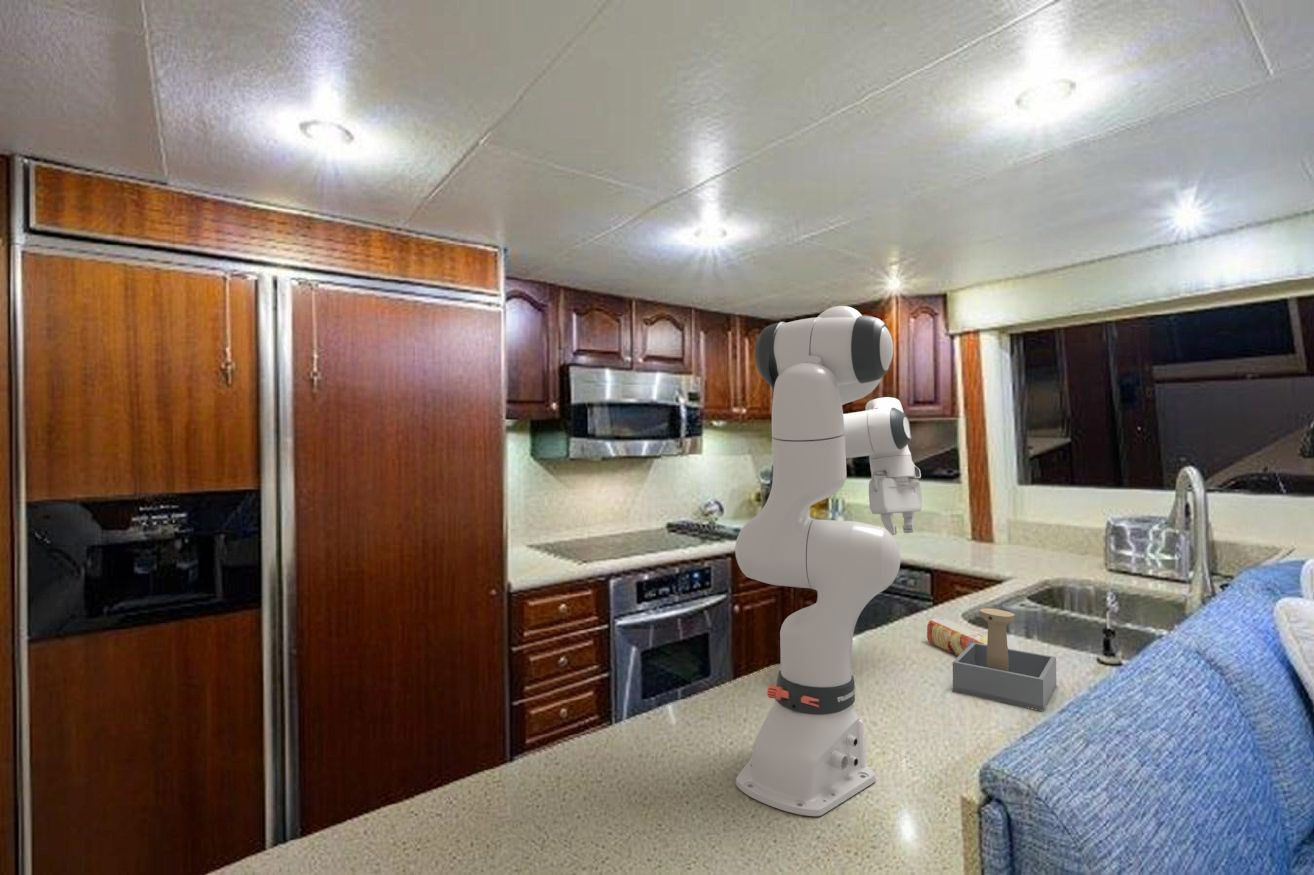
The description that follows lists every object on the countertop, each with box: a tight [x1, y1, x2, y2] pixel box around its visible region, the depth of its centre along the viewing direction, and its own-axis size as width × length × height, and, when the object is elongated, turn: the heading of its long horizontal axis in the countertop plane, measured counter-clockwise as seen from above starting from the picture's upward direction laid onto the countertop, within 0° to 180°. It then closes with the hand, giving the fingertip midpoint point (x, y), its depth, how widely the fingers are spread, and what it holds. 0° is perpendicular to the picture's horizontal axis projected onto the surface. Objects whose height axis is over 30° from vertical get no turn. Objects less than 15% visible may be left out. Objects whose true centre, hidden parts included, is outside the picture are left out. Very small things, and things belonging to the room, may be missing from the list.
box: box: [952, 642, 1057, 711], centre depth 133 cm, size 16×16×6 cm
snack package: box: [926, 617, 1009, 657], centre depth 153 cm, size 21×7×7 cm, turn 14°
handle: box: [979, 607, 1016, 671], centre depth 132 cm, size 5×6×15 cm
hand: (900, 534), depth 141 cm, fingers open, 8 cm apart
